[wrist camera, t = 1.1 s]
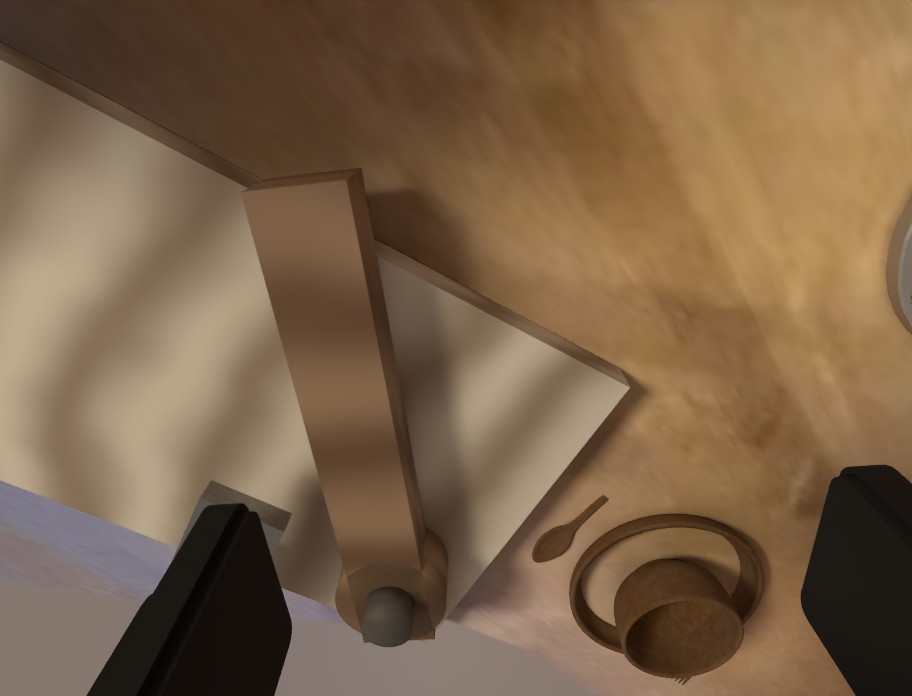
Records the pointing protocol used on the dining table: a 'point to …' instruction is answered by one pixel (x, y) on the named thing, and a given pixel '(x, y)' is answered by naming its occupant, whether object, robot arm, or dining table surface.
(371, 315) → the walnut link
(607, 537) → the place setting
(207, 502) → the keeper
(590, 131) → the dining table surface
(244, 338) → the birch board
